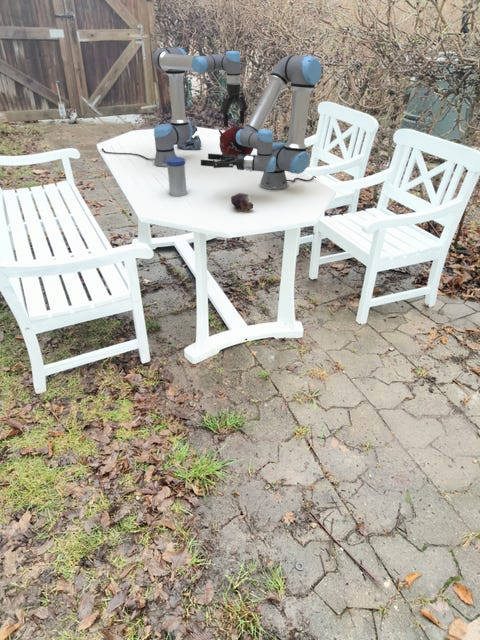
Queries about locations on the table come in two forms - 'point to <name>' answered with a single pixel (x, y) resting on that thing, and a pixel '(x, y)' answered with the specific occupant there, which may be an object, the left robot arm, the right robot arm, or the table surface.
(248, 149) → the dark red rounded piece
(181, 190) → the jar
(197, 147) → the koala plush
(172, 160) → the lid
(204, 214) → the table surface
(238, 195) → the rock
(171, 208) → the table surface
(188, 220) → the table surface
